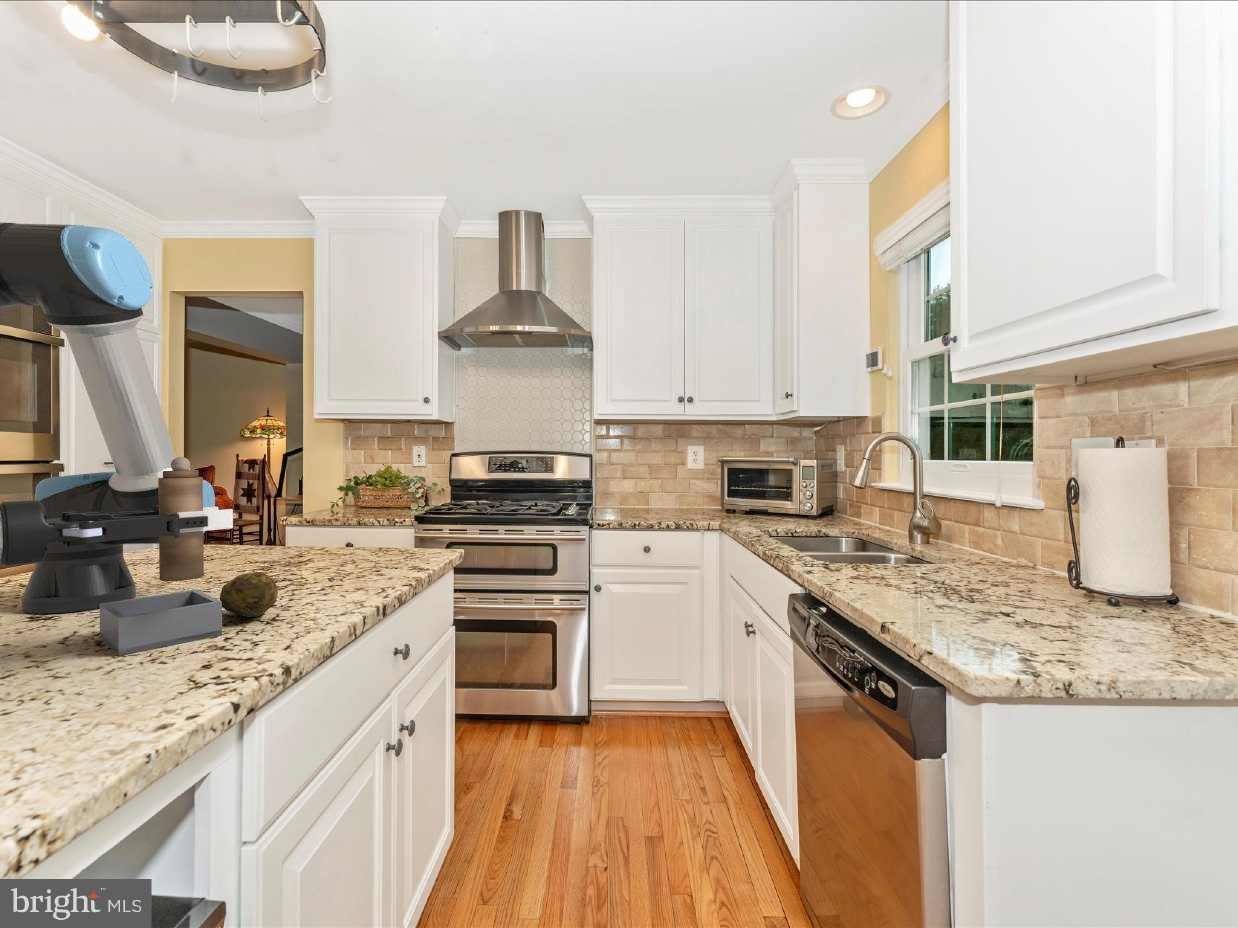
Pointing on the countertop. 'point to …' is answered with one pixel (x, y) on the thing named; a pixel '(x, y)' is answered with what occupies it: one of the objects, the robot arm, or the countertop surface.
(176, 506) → the pepper mill
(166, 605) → the tub
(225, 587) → the potato
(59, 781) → the countertop surface
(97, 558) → the robot arm
